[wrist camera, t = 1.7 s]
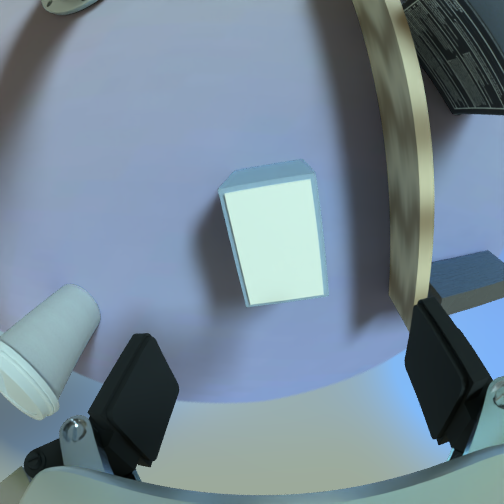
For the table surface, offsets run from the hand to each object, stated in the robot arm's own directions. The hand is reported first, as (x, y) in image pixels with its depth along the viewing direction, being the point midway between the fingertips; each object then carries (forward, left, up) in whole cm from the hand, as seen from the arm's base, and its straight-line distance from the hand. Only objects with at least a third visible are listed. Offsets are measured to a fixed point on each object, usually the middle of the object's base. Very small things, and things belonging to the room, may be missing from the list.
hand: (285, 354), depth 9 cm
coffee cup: (+7, -25, -16) cm, 31 cm away
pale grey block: (0, 0, -16) cm, 16 cm away
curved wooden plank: (-5, +17, -16) cm, 24 cm away
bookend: (+8, +17, -16) cm, 25 cm away
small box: (-13, +17, -16) cm, 27 cm away
